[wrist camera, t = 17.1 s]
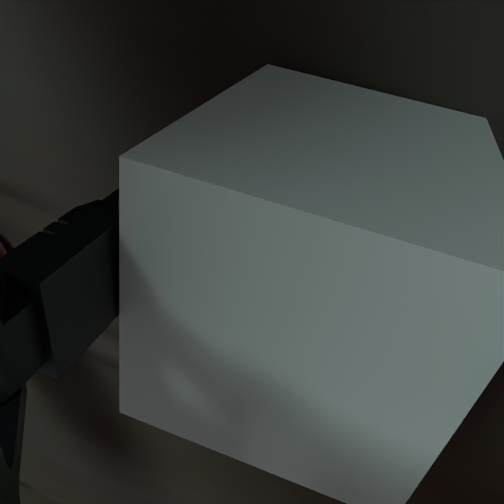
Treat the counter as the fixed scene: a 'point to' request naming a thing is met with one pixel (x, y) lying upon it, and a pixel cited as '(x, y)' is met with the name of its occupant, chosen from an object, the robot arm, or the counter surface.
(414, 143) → the grey rectangular block
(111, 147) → the counter surface
